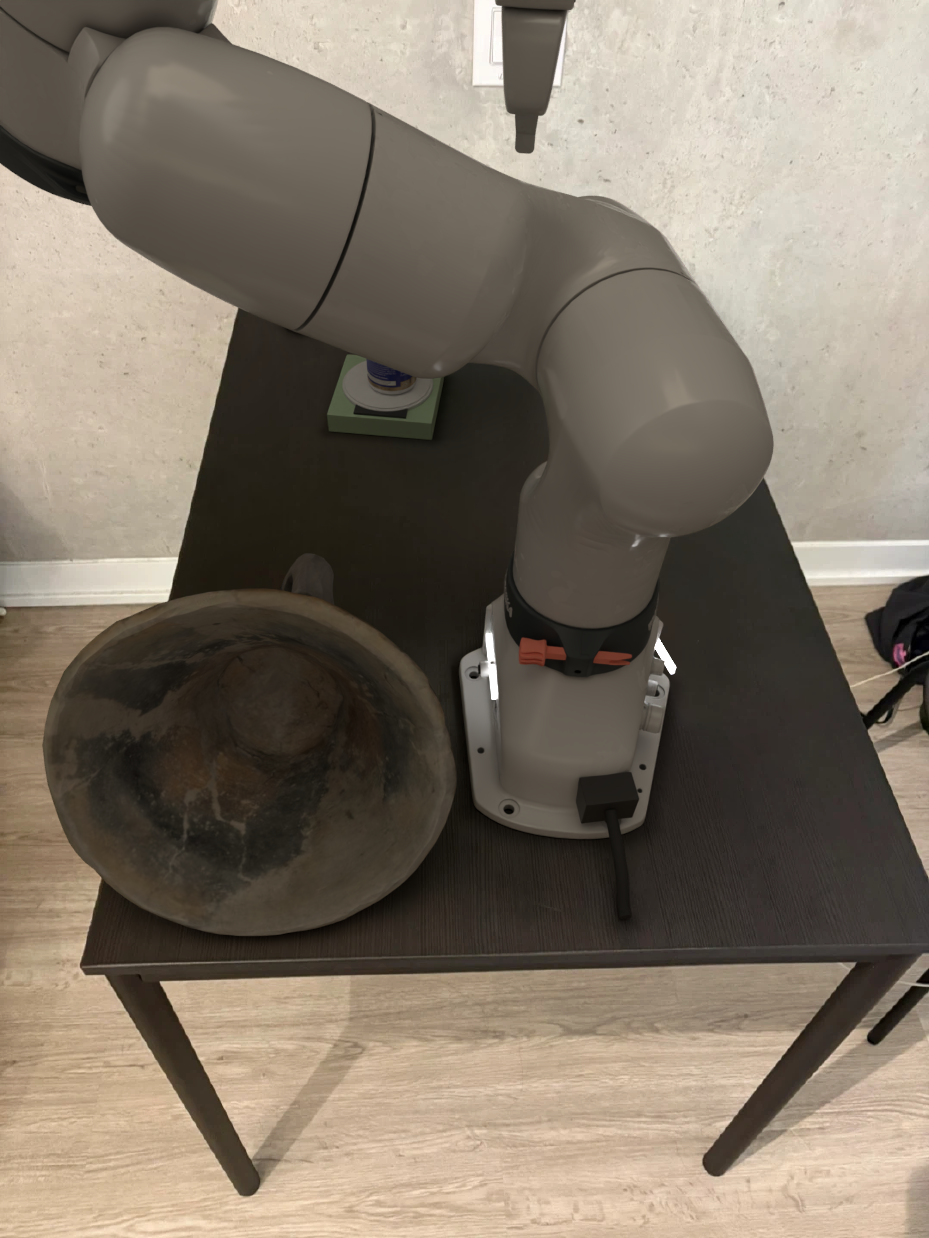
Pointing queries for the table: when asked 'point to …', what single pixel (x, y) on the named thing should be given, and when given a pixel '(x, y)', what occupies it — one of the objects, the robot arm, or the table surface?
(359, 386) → the scale
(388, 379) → the pill bottle
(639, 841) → the table surface
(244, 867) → the bowl
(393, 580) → the table surface
